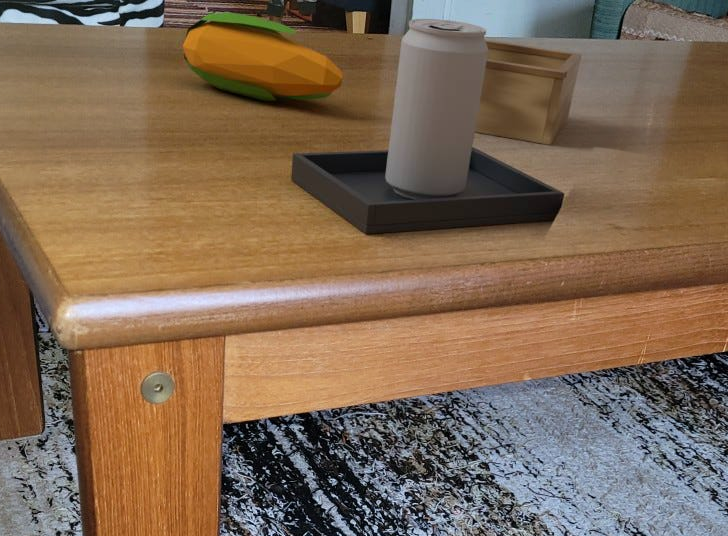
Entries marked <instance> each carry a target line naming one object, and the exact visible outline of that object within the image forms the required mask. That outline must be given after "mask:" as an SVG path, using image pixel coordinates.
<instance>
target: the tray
mask: <svg viewBox="0 0 728 536" xmlns="http://www.w3.org/2000/svg"><path fill="white" fill-rule="evenodd" d="M388 150H389V149H381V150H379V149H378V150H377V149H376V150H356V151H355V150H352V151H351V150H350V151H324V152H321V151H320V152H302V153H301V152H300V153H299V152H298V153H297V152H296V153H292V161H291V174H290V175H291V176H290V180H291V182H293V183H294V184H296V185H297V186H299V187H300V188H301V189H303V190H304V191H305V192H307V193H308V194H309V195H311V196H313V197H314V198H315V199H317V200H318V201H319V202H321V203H322V204H323V205H325V206H326V207H327V208H329V209H330V210H332V211H333V212H335V214H337V215H338V216H340V217H342V218H343V219H344V220H346V221H347V222H348V223H349V224H351V225H352V226H353V227H355V228H356V229H358V230H359V231H361V232H362V233H363V234H365V235H373V234H374V235H375V234H387V233H402V232H415V231H426V230H427V231H428V230H429V231H430V230H441V229H443V230H444V229H456V228H467V227H468V228H469V227H481V226H494V225H509V224H521V223H522V224H523V223H536V222H548V221H549V222H551V221H555V220H556V218H557V216H558V214H559V212H560V211H561V209H562V206H563V202H564V198H565V192H564V191H562V190H559V189H558V188H555V187H553V186H551V185H549V184H547V183H545V182H543V181H542V180H540V179H538V178H535V177H533V176H531V175H529V174H528V173H525V172H523V171H521V170H520V169H518V168H515V167H513V166H512V165H510V164H508V163H505V162H503V161H502V160H499V159H497V158H496V157H494V156H492V155H490V154H488V153H486V152H484V151H481V150H479V149H478V148H476V147H474V146H472V151H471V157H470V163H469V169H468V175H467V181H466V187H465V189H464V190H463V191H462V192H461V193H459V194H456V195H455V196H454V197H453V198H436V199H419V200H414V199H410V198H406V197H404V196H401V195H399V194H397V193H396V192H395V191H394V190H393V187H392V186H391V185H389V184H388V183H387V181H386V179H385V175H386V167H387V159H388ZM455 227H456V228H455Z"/></svg>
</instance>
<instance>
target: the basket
mask: <svg viewBox="0 0 728 536" xmlns="http://www.w3.org/2000/svg"><path fill="white" fill-rule="evenodd" d="M485 42H486V44H487V47H488V55H487V61H486V67H485V73H484V79H483V85H482V91H481V97H480V103H479V109H478V115H477V121H476V127H475V133H476V134H477V133H478V134H482V135H483V134H484V135H489V136H496V137H501V138H508V139H514V140H518V141H524V142H530V143H535V144H536V143H537V144H542V145H547V146H550V145H551V144H552V142H553V141H554V140H555V138H556V137H557V136H558V134H559V132H561V130H562V129H563V127H564V126H565V124H566V123H567V121H568V119H569V115H570V110H571V105H572V100H573V95H574V92H575V91H574V90H575V87H576V83H577V79H578V78H577V77H578V73H579V68H580V64H581V60H582V55H583V54H582V53H578V52H573V51H572V52H571V51H564V50H558V49H552V48H551V49H550V48H544V47H537V46H532V45H531V46H530V45H524V44H517V43H511V42H504V41H497V40H491V39H485Z"/></svg>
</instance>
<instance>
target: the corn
mask: <svg viewBox="0 0 728 536" xmlns="http://www.w3.org/2000/svg"><path fill="white" fill-rule="evenodd" d="M280 32H281V33H284V34H290V35H293V34H297V33H298V31H297V30H295V29H293V28H291V27H290V26H287V25H285V24H283V23H280V22H276V21H273V20H269V19H265V18H262V17H258V16H254V15H247V14H241V13H233V12H218V13H208V14H207V15H205V16H204V17H202V18H201V19H199V20H198V21H197V22H195V23H194V24H192V25H191V26H189V27H188V28H187V31H186V35H185V38H184V39H185V40H184V42H183V45H182V49H183V50H182V51H183V58H184V61H185V62H186V64H187V65H188V67H189V68H190V70H191V71H192V72H193V73H195V74H196V75H197V76H198V77H199V78H201V80H203V81H205V82H206V83H208V84H210V85H212V86H213V87H215V88H217V89H218V90H220V91H224V92H229V93H232V94H236V95H239V96H243V97H248V98H252V99H256V100H259V101H262V102H263V101H264V102H265V101H266V102H267V101H270V102H276V101H277V99H276V98H275V97H280V98H285V99H294V100H299V101H300V100H301V101H302V100H303V101H304V100H319V99H326V98H328V97H330V96H331V95H332V93H333V92H334V91H336V90H337V89H338V88H340V87H341V86H342V82H343V78H344V74H343V73H342V71H341V70H340V68H339V67H338V66H337V65H336V64H335V63H334V62H333V61H332V60H331V59H329V58H328V57H327V56H326V55H324V54H322V53H319V52H318V51H316V50H314V49H311V48H309V47H306V46H304V45H303V44H300V43H299V42H296V41H294V40H292V39H290V38H287V37H285V36H284V35H282V34H281V33H280Z"/></svg>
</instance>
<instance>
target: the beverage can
mask: <svg viewBox="0 0 728 536" xmlns="http://www.w3.org/2000/svg"><path fill="white" fill-rule="evenodd" d="M408 26H409V29H408V31H407V32H406V33H405V34H404V36H403V37H402V39H401V43H400V52H399V58H398V59H399V60H398V67H397V75H396V84H395V94H394V101H393V110H392V119H391V125H390V127H391V128H390V135H389V144H388V149H387V150H388V159H387V167H386V175H385V179H386V181H387V183H388V184H389V185H391V186H392V187H393V190H394V191H395V192H396V193H397V194H399V195H401V196H404V197H406V198H410V199H414V200H419V199H436V198H453V197H454V196H455V195H456V194H459V193H461V192H462V191H463V190H464V189H465V187H466V181H467V175H468V169H469V163H470V157H471V151H472V147H473V145H474V139H475V133H476V132H475V127H476V121H477V115H478V109H479V103H480V97H481V91H482V85H483V79H484V73H485V67H486V61H487V55H488V47H487V44H486V42H485V40H486V39H485V36H486V35H487V29H486V28H485V27H482V26H480V25H476V24H472V23H468V22H463V21H456V20H449V19H437V18H436V19H435V18H415V19H414V18H413V19H410V20H409V21H408Z"/></svg>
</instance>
